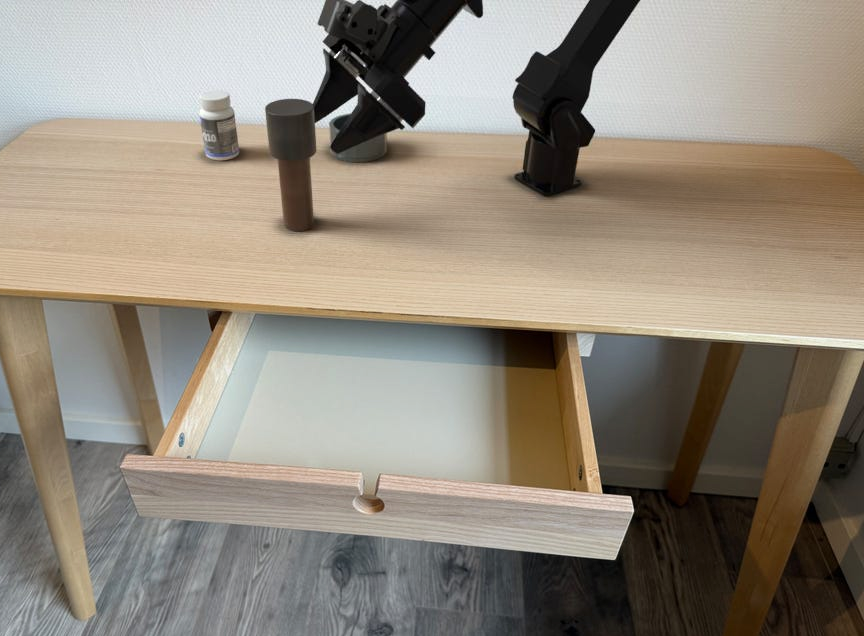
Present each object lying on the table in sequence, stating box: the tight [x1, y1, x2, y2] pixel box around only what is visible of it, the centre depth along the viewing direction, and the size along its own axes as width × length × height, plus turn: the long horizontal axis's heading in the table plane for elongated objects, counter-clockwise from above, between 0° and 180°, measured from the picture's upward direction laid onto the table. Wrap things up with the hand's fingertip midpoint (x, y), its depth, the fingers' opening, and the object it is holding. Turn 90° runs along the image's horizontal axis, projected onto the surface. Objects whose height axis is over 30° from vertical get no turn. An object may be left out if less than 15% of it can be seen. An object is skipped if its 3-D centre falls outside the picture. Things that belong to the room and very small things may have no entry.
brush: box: [264, 98, 318, 232], centre depth 81 cm, size 5×5×14 cm
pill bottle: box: [198, 89, 240, 161], centre depth 98 cm, size 5×5×8 cm
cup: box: [328, 112, 388, 163], centre depth 101 cm, size 8×8×4 cm
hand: (321, 135), depth 79 cm, fingers open, 9 cm apart
